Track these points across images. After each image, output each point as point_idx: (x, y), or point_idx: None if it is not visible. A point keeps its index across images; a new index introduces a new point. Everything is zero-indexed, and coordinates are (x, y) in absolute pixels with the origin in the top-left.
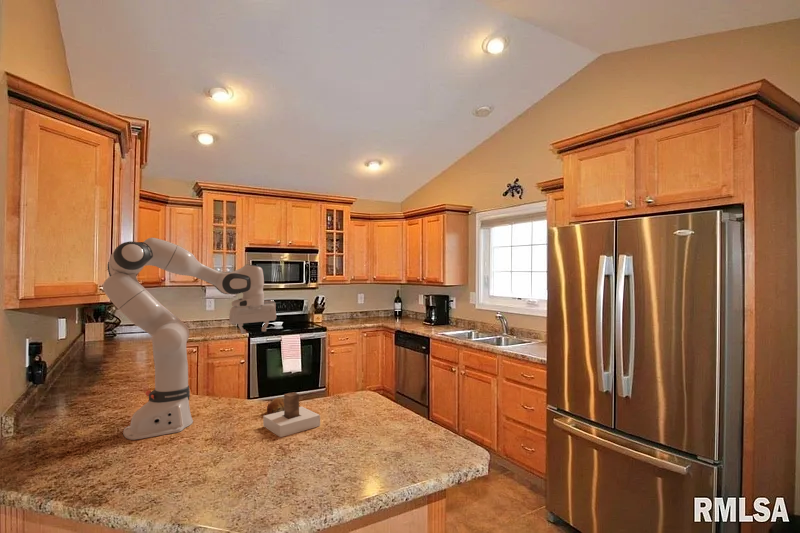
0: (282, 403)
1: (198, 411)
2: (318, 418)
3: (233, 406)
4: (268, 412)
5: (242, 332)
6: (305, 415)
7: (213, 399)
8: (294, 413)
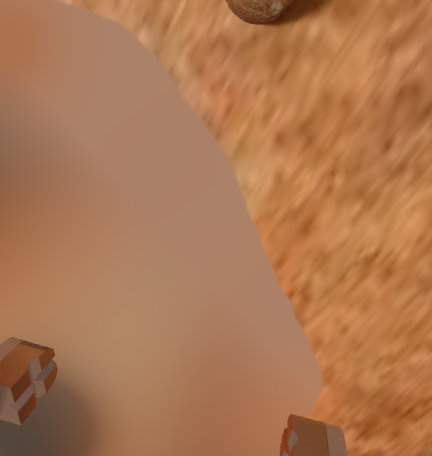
0: None
1: (421, 236)
2: None
3: (320, 189)
4: None
5: (342, 442)
6: None
7: (310, 298)
8: None
